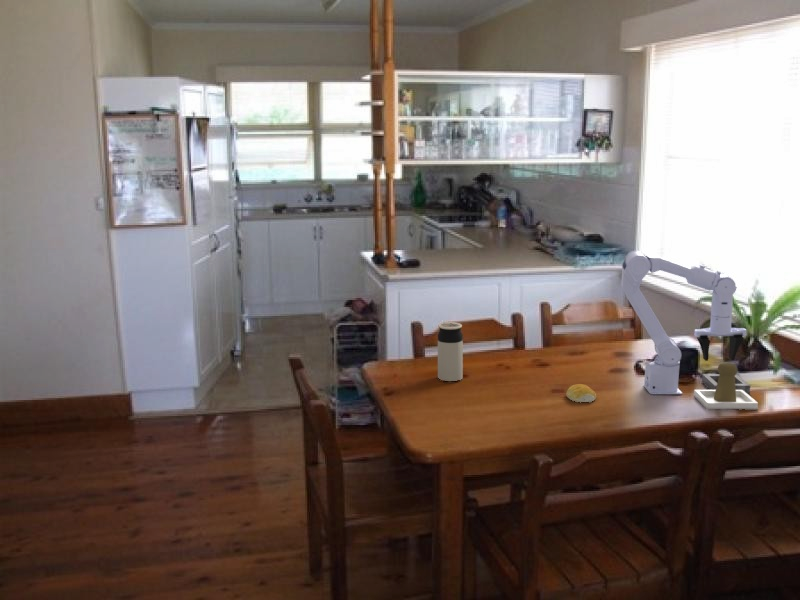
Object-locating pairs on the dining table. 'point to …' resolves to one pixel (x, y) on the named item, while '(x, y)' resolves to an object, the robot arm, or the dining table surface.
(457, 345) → the travel mug
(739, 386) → the holder
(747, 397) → the tray
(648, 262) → the robot arm
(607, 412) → the dining table surface
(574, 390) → the bread roll
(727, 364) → the cork
